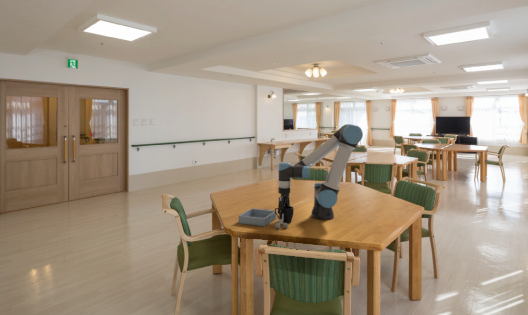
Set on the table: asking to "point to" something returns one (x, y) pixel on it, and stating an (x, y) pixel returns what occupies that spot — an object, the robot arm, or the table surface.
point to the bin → (257, 217)
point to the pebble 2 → (285, 225)
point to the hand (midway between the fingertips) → (283, 221)
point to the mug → (287, 214)
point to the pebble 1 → (277, 225)
